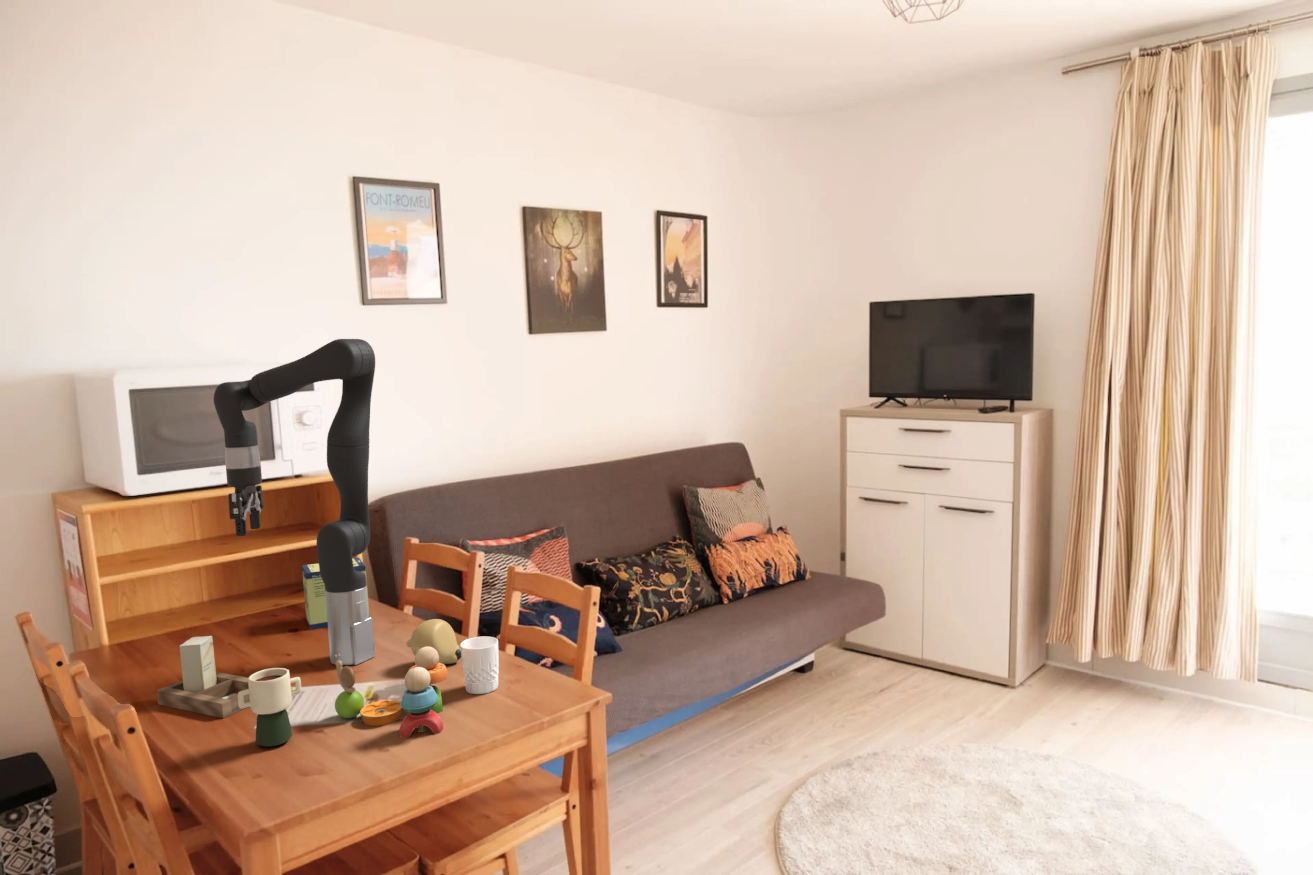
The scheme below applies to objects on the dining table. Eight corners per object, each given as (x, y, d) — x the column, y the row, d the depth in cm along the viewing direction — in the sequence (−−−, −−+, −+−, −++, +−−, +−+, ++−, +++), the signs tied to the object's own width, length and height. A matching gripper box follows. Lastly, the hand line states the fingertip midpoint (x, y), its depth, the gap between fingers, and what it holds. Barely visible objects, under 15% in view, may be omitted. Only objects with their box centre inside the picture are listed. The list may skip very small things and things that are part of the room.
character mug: (299, 727, 164) (294, 661, 163) (310, 739, 159) (305, 672, 157) (238, 744, 158) (232, 676, 156) (247, 758, 152) (241, 687, 151)
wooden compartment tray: (273, 695, 181) (272, 682, 180) (223, 718, 170) (222, 703, 170) (209, 683, 189) (208, 670, 189) (158, 704, 178) (156, 690, 178)
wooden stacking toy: (359, 712, 171) (354, 651, 169) (446, 696, 177) (443, 638, 176) (364, 749, 154) (359, 682, 153) (460, 730, 160) (456, 666, 159)
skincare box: (205, 700, 179) (200, 644, 178) (183, 702, 178) (178, 645, 177) (218, 689, 185) (213, 634, 184) (197, 690, 185) (192, 636, 183)
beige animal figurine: (445, 685, 192) (477, 647, 196) (408, 655, 187) (441, 616, 190) (430, 671, 201) (461, 635, 204) (394, 642, 195) (426, 605, 199)
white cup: (464, 697, 176) (460, 650, 175) (462, 684, 183) (459, 638, 182) (502, 692, 178) (499, 645, 177) (499, 678, 185) (496, 634, 184)
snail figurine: (353, 707, 173) (349, 650, 172) (370, 715, 168) (366, 656, 167) (328, 716, 169) (323, 658, 167) (344, 725, 164) (340, 664, 163)
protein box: (305, 620, 234) (300, 564, 233) (364, 610, 241) (360, 556, 240) (309, 630, 225) (304, 572, 223) (370, 620, 232) (366, 564, 231)
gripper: (247, 468, 197) (253, 537, 198) (270, 461, 211) (275, 525, 212) (214, 469, 196) (220, 539, 198) (239, 462, 210) (244, 527, 212)
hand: (249, 532), depth 205 cm, fingers open, 8 cm apart
